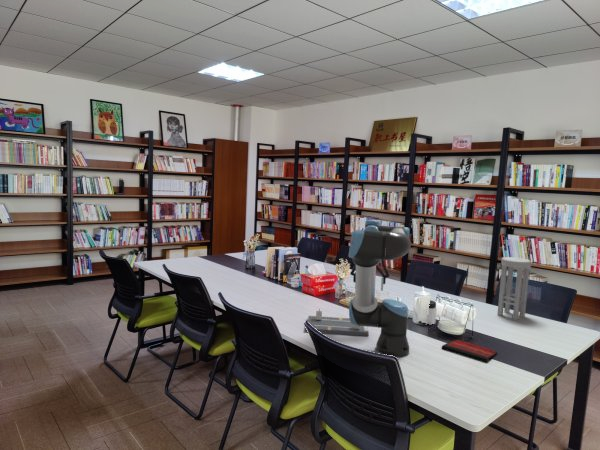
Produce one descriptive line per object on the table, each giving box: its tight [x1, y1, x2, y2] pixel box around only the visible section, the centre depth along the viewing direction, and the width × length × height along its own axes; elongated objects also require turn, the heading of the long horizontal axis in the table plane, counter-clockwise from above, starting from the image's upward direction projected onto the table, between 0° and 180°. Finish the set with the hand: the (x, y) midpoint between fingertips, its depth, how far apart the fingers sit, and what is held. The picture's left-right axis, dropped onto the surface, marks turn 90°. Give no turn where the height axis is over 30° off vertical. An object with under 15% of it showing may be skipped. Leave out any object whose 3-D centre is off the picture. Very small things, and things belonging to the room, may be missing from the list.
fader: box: [315, 308, 323, 320], centre depth 229 cm, size 4×3×5 cm
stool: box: [497, 256, 532, 321], centre depth 254 cm, size 16×16×35 cm
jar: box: [426, 299, 437, 326], centre depth 237 cm, size 9×8×12 cm
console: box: [305, 315, 370, 337], centre depth 224 cm, size 21×32×2 cm, turn 85°
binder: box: [441, 339, 498, 364], centre depth 199 cm, size 16×2×21 cm
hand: (368, 289), depth 221 cm, fingers open, 13 cm apart
